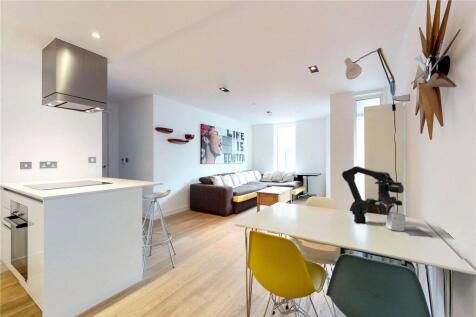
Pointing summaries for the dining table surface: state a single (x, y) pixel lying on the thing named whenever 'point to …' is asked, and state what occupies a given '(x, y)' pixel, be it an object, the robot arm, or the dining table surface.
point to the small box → (395, 221)
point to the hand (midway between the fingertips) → (383, 214)
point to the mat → (415, 231)
